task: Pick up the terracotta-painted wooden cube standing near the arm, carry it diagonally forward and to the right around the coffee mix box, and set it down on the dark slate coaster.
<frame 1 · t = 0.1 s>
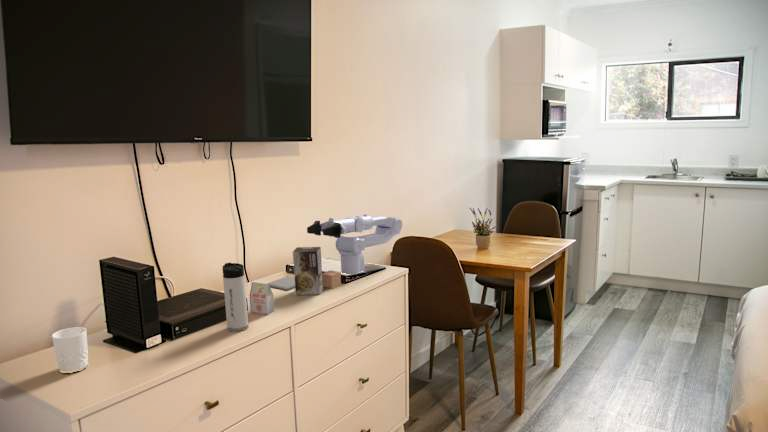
hand: (315, 231, 209), 22 cm above the dresser top, tool horizontal, fingers open, 7 cm apart
coaster: (287, 283, 219), on the dresser top
coffee box: (309, 292, 209), on the dresser top
white cup: (74, 369, 150), on the dresser top
travel mug: (237, 328, 175), on the dresser top
white printed carton: (262, 312, 189), on the dresser top
cube: (331, 285, 216), on the dresser top
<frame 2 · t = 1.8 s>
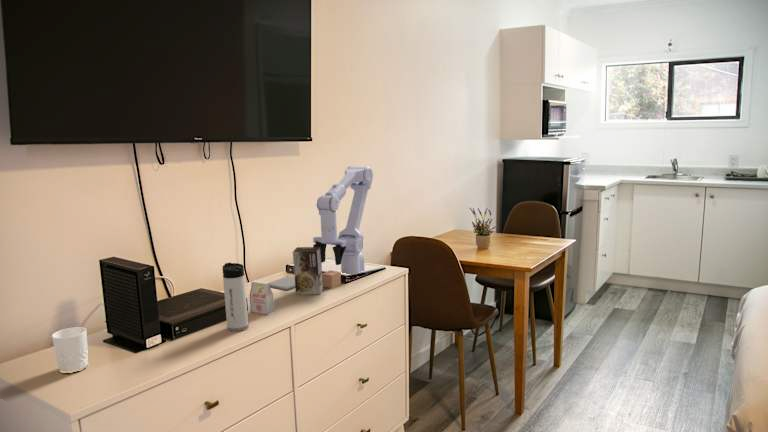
hand: (330, 263, 214), 9 cm above the dresser top, tool pointing down, fingers open, 7 cm apart
nothing on the dresser top moved.
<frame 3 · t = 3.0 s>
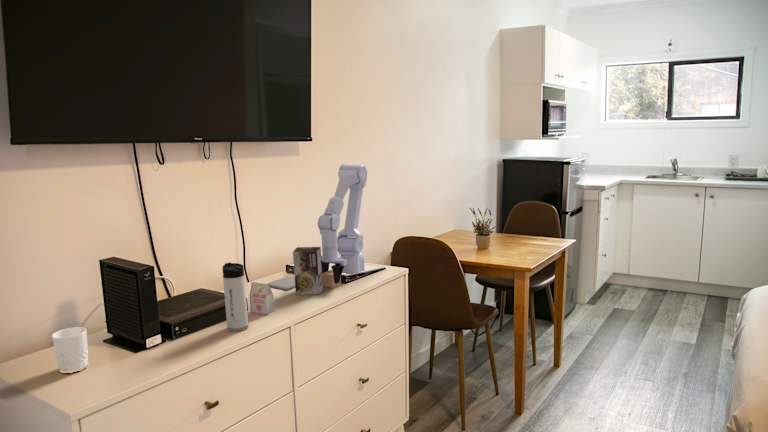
hand: (331, 281, 215), 1 cm above the dresser top, tool pointing down, fingers closed on cube, 5 cm apart
cube: (331, 285, 216), on the dresser top, touching gripper
everything else where it was.
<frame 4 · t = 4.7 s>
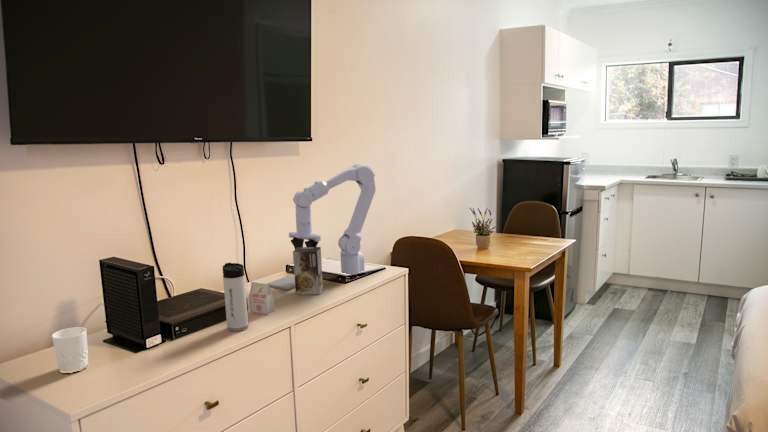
hand: (305, 257, 220), 9 cm above the dresser top, tool pointing down, fingers closed on cube, 5 cm apart
cube: (305, 263, 220), point 7 cm above the dresser top, touching gripper
everything else where it was.
when the fingers open (3 cm above the dresser top, at t = 6.8 s): cube stays where it is, resting on coaster.
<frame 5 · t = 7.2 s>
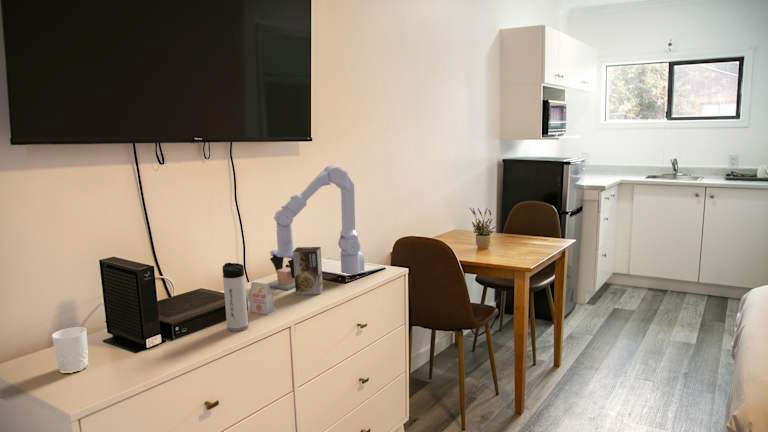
hand: (287, 276, 218), 3 cm above the dresser top, tool pointing down, fingers open, 7 cm apart
cube: (287, 282, 219), point 1 cm above the dresser top, touching coaster
everything else where it was.
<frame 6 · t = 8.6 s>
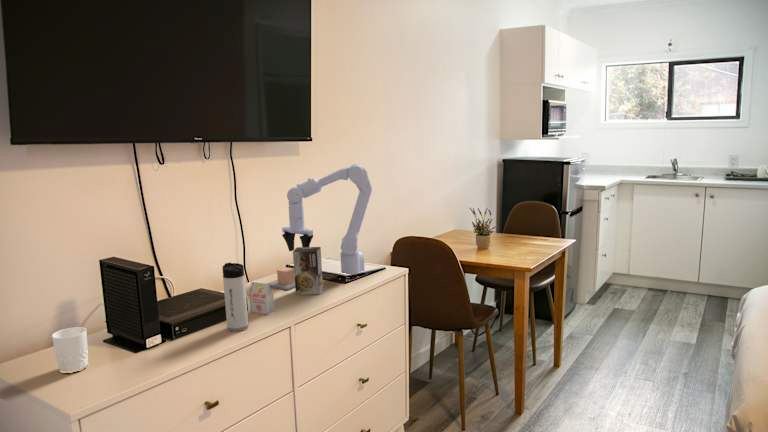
hand: (298, 251, 226), 10 cm above the dresser top, tool pointing down, fingers open, 7 cm apart
nothing on the dresser top moved.
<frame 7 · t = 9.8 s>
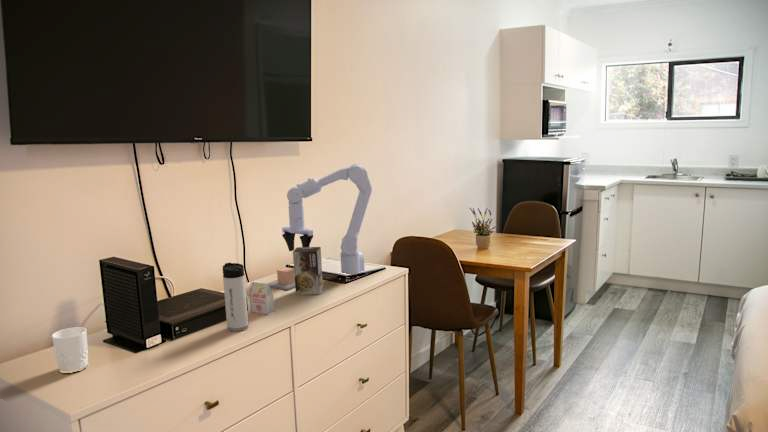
hand: (298, 251, 226), 10 cm above the dresser top, tool pointing down, fingers open, 7 cm apart
nothing on the dresser top moved.
at the end: cube inside the target area on the coaster (0.2 cm from its centre), point 0.7 cm above the coaster's base; cube tilted 0°; the gripper is holding nothing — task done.
